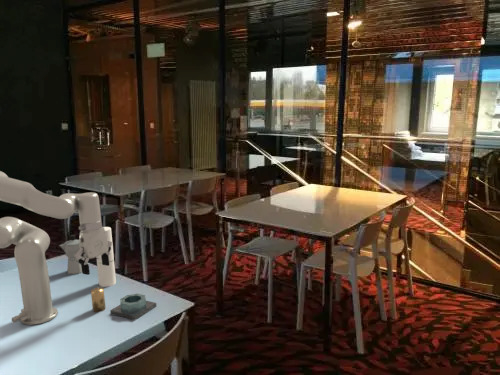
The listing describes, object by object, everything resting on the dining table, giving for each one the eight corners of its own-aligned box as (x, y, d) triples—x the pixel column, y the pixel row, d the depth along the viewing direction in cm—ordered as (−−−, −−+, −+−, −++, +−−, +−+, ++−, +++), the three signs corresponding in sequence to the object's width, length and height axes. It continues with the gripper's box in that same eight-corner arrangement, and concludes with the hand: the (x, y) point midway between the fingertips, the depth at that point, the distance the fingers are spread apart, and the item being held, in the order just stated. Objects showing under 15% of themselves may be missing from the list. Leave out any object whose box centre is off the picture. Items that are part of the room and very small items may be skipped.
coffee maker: (62, 276, 199) (57, 239, 196) (62, 270, 207) (58, 234, 204) (95, 271, 205) (92, 234, 202) (94, 265, 213) (91, 230, 210)
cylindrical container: (110, 279, 195) (105, 226, 190) (119, 282, 190) (114, 228, 186) (95, 284, 189) (90, 229, 185) (104, 288, 185) (99, 232, 180)
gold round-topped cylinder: (98, 313, 162) (96, 293, 160) (90, 310, 164) (88, 291, 163) (108, 307, 166) (106, 288, 164) (99, 305, 168) (97, 286, 167)
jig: (135, 320, 155) (134, 308, 155) (110, 313, 161) (109, 302, 160) (156, 306, 166) (155, 295, 165) (132, 300, 171) (132, 290, 170)
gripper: (79, 233, 150) (85, 279, 153) (115, 220, 165) (120, 263, 168) (64, 231, 153) (70, 276, 156) (101, 219, 168) (106, 260, 171)
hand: (96, 269), depth 162 cm, fingers open, 9 cm apart
